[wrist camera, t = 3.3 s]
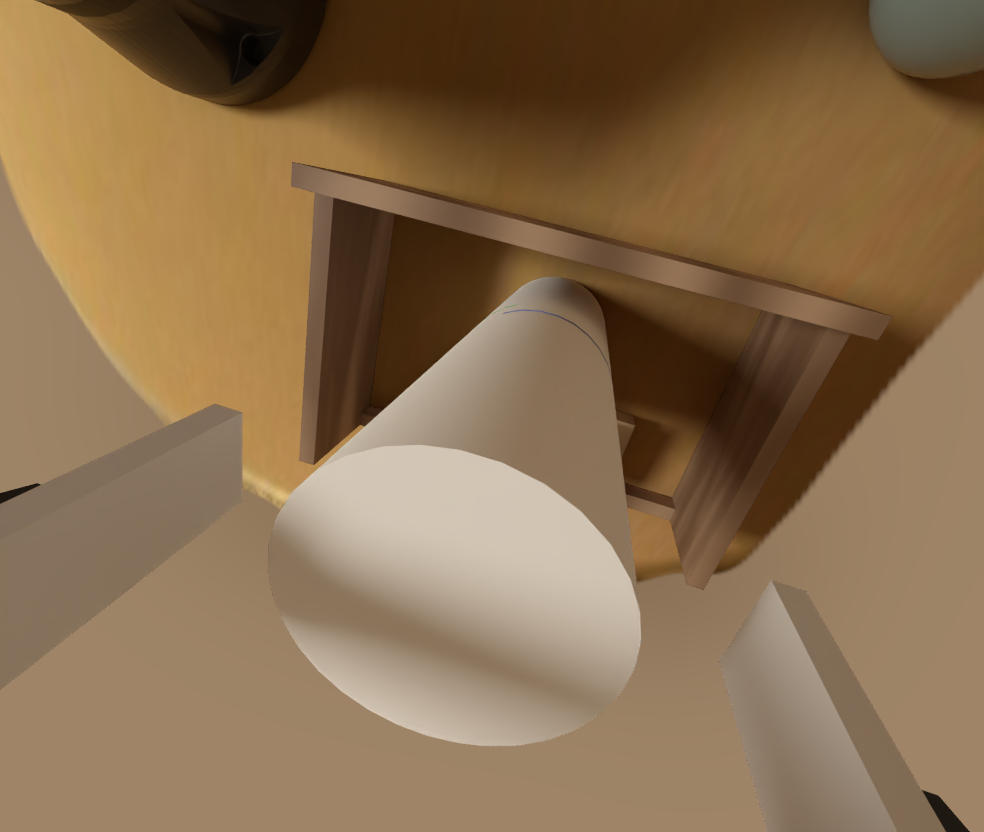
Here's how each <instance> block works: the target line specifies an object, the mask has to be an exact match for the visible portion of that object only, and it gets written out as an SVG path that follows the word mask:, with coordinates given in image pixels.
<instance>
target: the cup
mask: <svg viewBox="0 0 984 832" xmlns="http://www.w3.org/2000/svg"><path fill="white" fill-rule="evenodd" d="M868 19H869V27H870V32H871V35H872V38H873V41H874V44H875V46H876V48H877V50H878V51H879V53H880V54H881V56H882V58H883V59H884V60H885V61H886V62H887V63H888V64H889V65H890V66H891V67H892V68H894V69H896V70H898V71H899V72H901V73H903V74H905V75H909V76H913V77H917V78H922V79H938V78H953V77H959V76H964V75H968V74H972V73H976V72H979V71H983V70H984V0H869V6H868Z"/></svg>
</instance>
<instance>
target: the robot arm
mask: <svg viewBox="0 0 984 832" xmlns="http://www.w3.org/2000/svg"><path fill="white" fill-rule="evenodd" d="M36 1H38V2H41V3H43V4H46V5H48V6H51V7H53V8H56V9H58V10H61V11H63V12H66V13H68V14H69V15H70V16H72V17H73V18H74V19H76V20H77V21H78V22H79V23H81V24H82V25H83V26H85V27H86V28H87V29H89V30H90V31H91V32H92V33H94V34H95V35H96V36H98V37H99V38H100V39H101V40H103V41H104V42H105V43H107V44H108V45H109V46H111V47H112V48H113V49H114V50H116V51H117V52H118V53H120V54H121V55H122V56H124V57H125V58H126V59H127V60H129V61H130V62H131V63H133V64H134V65H135V66H137V67H138V68H139V69H140V70H142V71H143V72H144V73H146V74H147V75H149V76H150V77H152V78H153V79H155V80H157V81H158V82H160V83H162V84H164V85H166V86H168V87H170V88H172V89H174V90H176V91H179V92H181V93H184V94H187V95H190V96H193V97H197V98H200V99H203V100H206V101H209V102H213V103H218V104H225V105H240V104H247V103H252V102H255V101H258V100H261V99H263V98H266V97H267V96H269V95H271V94H273V93H274V92H276V91H277V90H279V89H280V88H281V87H283V86H284V85H285V84H286V83H287V82H288V81H289V80H290V79H291V78H292V77H293V76H294V75H295V74H296V72H297V71H298V70H299V69H300V67H301V66H302V64H303V63H304V61H305V60H306V58H307V56H308V55H309V53H310V51H311V49H312V47H313V45H314V42H315V40H316V38H317V35H318V32H319V29H320V26H321V23H322V20H323V16H324V12H325V7H326V2H327V0H36ZM241 502H242V412H239V411H236V410H233V409H230V408H227V407H223V406H220V405H217V404H213V405H211V406H209V407H207V408H205V409H203V410H201V411H198V412H196V413H194V414H192V415H190V416H188V417H186V418H183V419H181V420H179V421H177V422H175V423H173V424H171V425H168V426H166V427H164V428H162V429H160V430H158V431H156V432H154V433H151V434H149V435H147V436H145V437H143V438H141V439H139V440H136V441H134V442H132V443H130V444H128V445H126V446H124V447H121V448H119V449H117V450H115V451H113V452H111V453H109V454H106V455H104V456H102V457H100V458H98V459H96V460H94V461H91V462H89V463H87V464H85V465H83V466H81V467H79V468H76V469H74V470H72V471H70V472H68V473H66V474H64V475H62V476H59V477H57V478H55V479H53V480H51V481H49V482H46V483H44V484H42V485H40V484H37V483H36V484H33V485H29V486H25V487H21V488H18V489H14V490H10V491H7V492H3V493H0V690H1V689H2V688H3V687H5V686H6V685H7V684H8V683H10V682H11V681H12V680H14V679H15V678H16V677H17V676H19V675H20V674H21V673H23V672H24V671H25V670H26V669H28V668H29V667H30V666H31V665H33V664H34V663H35V662H37V661H38V660H39V659H40V658H42V657H43V656H44V655H46V654H47V653H48V652H49V651H51V650H52V649H53V648H54V647H56V646H57V645H58V644H60V643H61V642H62V641H64V640H65V639H66V638H67V637H69V636H70V635H71V634H73V633H74V632H75V631H76V630H78V629H79V628H80V627H81V626H83V625H84V624H85V623H86V622H88V621H89V620H90V619H92V618H93V617H94V616H96V615H97V614H98V613H99V612H101V611H102V610H103V609H105V608H106V607H107V606H108V605H110V604H111V603H112V602H114V601H115V600H116V599H117V598H119V597H120V596H121V595H122V594H124V593H125V592H126V591H128V590H129V589H130V588H131V587H133V586H134V585H135V584H137V583H138V582H139V581H140V580H142V579H143V578H144V577H145V576H147V575H148V574H149V573H151V572H152V571H153V570H155V569H156V568H157V567H158V566H160V565H161V564H162V563H164V562H165V561H166V560H167V559H169V558H170V557H171V556H173V555H174V554H175V553H176V552H178V551H179V550H180V549H182V548H183V547H184V546H185V545H187V544H188V543H189V542H191V541H192V540H193V539H194V538H195V537H197V536H198V535H199V534H201V533H202V532H203V531H205V530H206V529H207V528H208V527H210V526H211V525H212V524H214V523H215V522H216V521H217V520H218V519H220V518H221V517H223V516H224V515H225V514H226V513H228V512H229V511H230V510H231V509H233V508H234V507H235V506H237V505H238V504H239V503H241ZM719 665H720V668H721V672H722V675H723V678H724V682H725V685H726V689H727V693H728V696H729V700H730V703H731V707H732V710H733V714H734V717H735V721H736V724H737V728H738V731H739V735H740V738H741V742H742V745H743V748H744V752H745V756H746V759H747V762H748V766H749V770H750V773H751V777H752V780H753V784H754V787H755V791H756V794H757V798H758V801H759V805H760V808H761V812H762V815H763V819H764V822H765V825H766V829H767V832H969V831H968V829H967V828H966V827H965V826H964V825H963V823H962V822H961V821H960V820H959V819H958V818H957V817H956V815H955V814H954V813H953V812H952V811H951V810H950V809H949V807H948V806H947V805H946V804H945V803H944V802H943V800H942V799H941V798H940V797H939V796H938V795H935V794H932V793H929V792H926V791H923V790H921V788H920V786H919V785H918V783H917V781H916V779H915V778H914V776H913V774H912V773H911V771H910V769H909V767H908V766H907V764H906V762H905V761H904V759H903V757H902V755H901V754H900V752H899V750H898V749H897V747H896V745H895V743H894V742H893V740H892V738H891V736H890V735H889V733H888V731H887V730H886V728H885V726H884V724H883V723H882V721H881V719H880V718H879V716H878V714H877V713H876V711H875V709H874V707H873V706H872V704H871V702H870V700H869V699H868V697H867V695H866V694H865V692H864V690H863V688H862V687H861V685H860V683H859V681H858V680H857V678H856V676H855V675H854V673H853V671H852V669H851V668H850V666H849V664H848V662H847V661H846V659H845V657H844V656H843V654H842V652H841V650H840V649H839V647H838V645H837V644H836V642H835V640H834V638H833V637H832V635H831V633H830V632H829V630H828V628H827V626H826V625H825V623H824V621H823V620H822V618H821V617H820V615H819V613H818V611H817V609H816V607H815V606H814V604H813V602H812V601H811V599H810V597H809V595H808V594H807V592H806V591H804V590H801V589H798V588H795V587H792V586H788V585H785V584H782V583H779V582H776V581H772V580H771V581H770V583H769V584H768V586H767V587H766V589H765V590H764V592H763V593H762V595H761V597H760V598H759V600H758V601H757V603H756V604H755V606H754V607H753V609H752V611H751V612H750V614H749V615H748V617H747V619H746V620H745V621H744V623H743V625H742V626H741V628H740V629H739V631H738V632H737V634H736V635H735V637H734V638H733V640H732V642H731V643H730V645H729V646H728V648H727V649H726V651H725V653H724V654H723V655H722V657H721V659H720V660H719Z"/></svg>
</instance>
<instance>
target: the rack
mask: <svg viewBox="0 0 984 832" xmlns="http://www.w3.org/2000/svg"><path fill="white" fill-rule="evenodd" d="M291 186H292V187H296V188H300V189H303V190H307V191H311V192H315V199H314V216H313V233H312V251H311V268H310V285H309V302H308V319H307V337H306V354H305V371H304V388H303V405H302V423H301V440H300V457H299V461H302V462H306V463H309V464H312V465H314V464H316V463H317V462H318V461H319V460H320V459H321V458H322V457H324V456H325V455H326V454H327V453H328V452H329V451H330V450H332V449H333V448H334V447H335V446H336V445H337V444H339V443H340V442H341V441H342V440H343V439H344V438H345V437H347V436H348V435H349V434H350V433H351V432H352V431H354V430H355V429H356V428H357V427H358V426H359V425H363V426H366V425H367V424H368V423H369V422H371V421H372V420H373V419H374V418H375V417H376V416H377V415H378V414H379V413H381V412H382V411H383V410H381V409H378V408H375V407H372V406H370V404H371V396H372V388H373V380H374V372H375V364H376V356H377V349H378V341H379V333H380V325H381V317H382V309H383V301H384V293H385V286H386V278H387V270H388V262H389V254H390V246H391V238H392V231H393V223H394V215H395V214H399V215H402V216H406V217H410V218H414V219H418V220H421V221H425V222H429V223H433V224H437V225H440V226H444V227H448V228H452V229H456V230H459V231H463V232H467V233H471V234H475V235H478V236H482V237H486V238H490V239H494V240H497V241H501V242H505V243H509V244H513V245H517V246H520V247H524V248H528V249H532V250H536V251H539V252H543V253H547V254H551V255H555V256H558V257H562V258H566V259H570V260H574V261H577V262H581V263H585V264H589V265H593V266H596V267H600V268H604V269H608V270H612V271H615V272H619V273H623V274H627V275H631V276H635V277H638V278H642V279H646V280H650V281H654V282H657V283H661V284H665V285H669V286H673V287H676V288H680V289H684V290H688V291H692V292H695V293H699V294H703V295H707V296H711V297H714V298H718V299H722V300H726V301H730V302H733V303H737V304H741V305H745V306H749V307H753V308H756V309H760V310H762V312H761V314H760V316H759V318H758V320H757V323H756V325H755V327H754V329H753V331H752V333H751V335H750V337H749V339H748V341H747V343H746V345H745V348H744V350H743V352H742V354H741V356H740V358H739V360H738V362H737V364H736V366H735V368H734V370H733V373H732V375H731V377H730V379H729V381H728V383H727V385H726V387H725V389H724V391H723V393H722V395H721V397H720V400H719V402H718V404H717V406H716V408H715V410H714V412H713V414H712V416H711V418H710V420H709V422H708V425H707V427H706V429H705V431H704V433H703V435H702V437H701V439H700V441H699V443H698V445H697V447H696V450H695V452H694V454H693V456H692V458H691V460H690V462H689V464H688V466H687V468H686V470H685V472H684V475H683V477H682V479H681V481H680V483H679V485H678V487H677V489H676V491H675V493H674V495H673V497H672V498H671V497H667V496H664V495H661V494H657V493H654V492H651V491H648V490H644V489H641V488H638V487H634V486H631V485H628V484H625V483H624V485H625V493H626V501H627V507H628V508H631V509H635V510H638V511H641V512H644V513H648V514H651V515H654V516H657V517H660V518H664V519H667V520H670V522H671V526H672V530H673V534H674V538H675V542H676V545H677V549H678V553H679V557H680V561H681V565H682V569H683V573H684V576H685V580H686V584H687V585H690V586H693V587H696V588H699V589H702V590H704V588H705V586H706V585H707V583H708V581H709V579H710V578H711V576H712V574H713V572H714V571H715V569H716V567H717V566H718V564H719V562H720V560H721V559H722V557H723V555H724V553H725V552H726V550H727V548H728V546H729V545H730V543H731V541H732V539H733V538H734V536H735V534H736V533H737V531H738V529H739V527H740V526H741V524H742V522H743V520H744V519H745V517H746V515H747V513H748V512H749V510H750V508H751V506H752V505H753V503H754V501H755V499H756V498H757V496H758V494H759V493H760V491H761V489H762V487H763V486H764V484H765V482H766V480H767V479H768V477H769V475H770V473H771V472H772V470H773V468H774V466H775V465H776V463H777V461H778V459H779V458H780V456H781V454H782V453H783V451H784V449H785V447H786V446H787V444H788V442H789V440H790V439H791V437H792V435H793V433H794V432H795V430H796V428H797V426H798V425H799V423H800V421H801V419H802V418H803V416H804V414H805V413H806V411H807V409H808V407H809V406H810V404H811V402H812V400H813V399H814V397H815V395H816V393H817V392H818V390H819V388H820V386H821V385H822V383H823V381H824V379H825V378H826V376H827V374H828V373H829V371H830V369H831V367H832V366H833V364H834V362H835V360H836V359H837V357H838V355H839V353H840V352H841V350H842V348H843V346H844V345H845V343H846V341H847V340H848V338H849V336H850V334H855V335H859V336H863V337H867V338H871V339H874V340H879V338H880V336H881V335H882V333H883V331H884V330H885V328H886V326H887V325H888V323H889V322H890V320H891V318H892V316H889V315H886V314H883V313H880V312H876V311H873V310H870V309H867V308H864V307H861V306H857V305H854V304H851V303H848V302H845V301H842V300H838V299H835V298H832V297H829V296H826V295H822V294H819V293H816V292H813V291H810V290H807V289H803V288H800V287H797V286H794V285H790V284H786V283H782V282H778V281H774V280H770V279H767V278H763V277H759V276H755V275H751V274H747V273H743V272H739V271H735V270H731V269H728V268H724V267H720V266H716V265H712V264H708V263H704V262H700V261H696V260H692V259H689V258H685V257H681V256H677V255H673V254H669V253H665V252H661V251H657V250H653V249H650V248H646V247H642V246H638V245H634V244H630V243H626V242H622V241H618V240H614V239H611V238H607V237H603V236H599V235H595V234H591V233H587V232H583V231H579V230H575V229H572V228H568V227H564V226H560V225H556V224H552V223H548V222H544V221H540V220H536V219H533V218H529V217H525V216H521V215H517V214H513V213H509V212H505V211H501V210H497V209H494V208H490V207H486V206H482V205H478V204H474V203H470V202H466V201H462V200H458V199H455V198H451V197H447V196H443V195H439V194H435V193H431V192H427V191H423V190H419V189H416V188H412V187H408V186H404V185H400V184H396V183H392V182H388V181H384V180H380V179H375V178H370V177H365V176H360V175H355V174H350V173H345V172H340V171H335V170H330V169H325V168H320V167H315V166H310V165H305V164H300V163H295V162H292V178H291Z"/></svg>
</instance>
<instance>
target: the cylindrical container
mask: <svg viewBox="0 0 984 832" xmlns="http://www.w3.org/2000/svg"><path fill="white" fill-rule="evenodd" d="M268 574H269V579H270V585H271V590H272V595H273V598H274V601H275V603H276V606H277V608H278V611H279V614H280V616H281V619H282V621H283V623H284V624H285V626H286V628H287V629H288V631H289V633H290V634H291V636H292V638H293V639H294V641H295V643H296V644H297V646H298V647H299V648H300V650H301V651H302V652H303V653H304V654H305V656H306V657H307V658H308V659H309V660H310V661H311V663H312V664H313V665H314V666H315V667H316V668H317V670H318V671H319V672H320V673H322V674H323V675H324V676H325V677H326V678H327V679H328V680H329V681H331V682H332V683H333V684H334V685H335V686H336V687H337V688H338V689H339V690H341V691H342V692H343V693H345V694H346V695H348V696H349V697H350V698H352V699H353V700H355V701H357V702H358V703H359V704H361V705H362V706H364V707H365V708H367V709H368V710H370V711H372V712H374V713H376V714H378V715H380V716H382V717H384V718H385V719H388V720H389V721H391V722H393V723H395V724H397V725H400V726H402V727H405V728H408V729H411V730H413V731H416V732H419V733H421V734H424V735H427V736H431V737H435V738H439V739H443V740H447V741H452V742H456V743H463V744H473V745H481V746H518V745H523V744H529V743H535V742H541V741H547V740H550V739H553V738H555V737H558V736H561V735H563V734H566V733H569V732H572V731H574V730H577V729H578V728H580V727H581V726H583V725H585V724H586V723H588V722H589V721H591V720H592V719H594V718H596V717H597V716H599V715H600V714H602V713H603V712H604V711H605V710H606V709H607V708H608V707H609V705H610V704H611V703H612V702H613V701H614V700H615V699H616V698H617V697H618V696H619V695H620V694H621V692H622V691H623V689H624V687H625V686H626V684H627V682H628V680H629V678H630V676H631V674H632V672H633V670H634V669H635V665H636V661H637V656H638V652H639V648H640V643H641V631H640V629H641V628H640V609H639V600H638V592H637V583H636V575H635V567H634V559H633V551H632V542H631V534H630V526H629V518H628V509H627V501H626V493H625V485H624V476H623V468H622V460H621V452H620V443H619V435H618V427H617V418H616V410H615V401H614V393H613V384H612V376H611V368H610V360H609V352H608V343H607V335H606V326H605V320H604V316H603V312H602V309H601V307H600V305H599V303H598V301H597V300H596V299H595V297H594V296H593V295H592V294H591V292H590V291H588V290H587V289H586V288H585V287H583V286H582V285H581V284H579V283H577V282H575V281H573V280H570V279H566V278H562V277H544V278H539V279H536V280H533V281H530V282H529V283H527V284H525V285H523V286H522V287H520V288H519V289H518V290H517V291H516V292H515V293H514V294H512V295H511V296H510V297H509V298H508V299H507V300H506V301H505V302H503V303H502V304H501V305H500V306H499V307H498V308H497V309H495V310H494V311H493V312H492V313H491V314H490V315H489V316H488V317H486V318H485V319H484V320H483V321H482V322H481V323H480V324H478V325H477V326H476V327H475V328H474V329H473V330H472V331H471V332H470V333H468V334H467V335H466V336H465V337H464V338H463V339H462V340H461V341H460V342H458V343H457V344H456V345H455V346H454V347H453V348H452V349H451V350H450V351H448V352H447V353H446V354H445V355H444V356H443V357H442V358H441V359H440V360H438V361H437V362H436V363H435V364H434V365H433V366H432V367H431V368H430V369H428V370H427V371H426V372H425V373H424V374H423V375H422V376H421V377H420V378H418V379H417V380H416V381H415V382H414V383H413V384H412V385H411V386H410V387H408V388H407V389H406V390H405V391H404V392H403V393H402V394H401V395H399V396H398V397H397V398H396V399H395V400H394V401H393V402H392V403H391V404H389V405H388V406H387V407H386V408H385V409H384V410H383V411H382V412H381V413H379V414H378V415H377V416H376V417H375V418H374V419H373V420H372V421H371V422H369V423H368V424H367V425H366V426H365V427H364V428H363V429H362V430H361V431H359V432H358V433H357V434H356V435H355V436H354V437H353V438H352V439H351V440H349V441H348V442H347V443H346V444H345V445H344V446H343V447H342V448H341V449H339V450H338V451H337V452H336V453H335V454H334V455H333V456H332V457H331V458H329V459H328V460H327V461H326V462H325V463H324V464H323V465H322V466H321V467H319V468H318V469H317V470H316V471H315V472H314V473H313V474H312V475H311V476H309V477H308V478H307V479H306V480H305V481H304V482H303V483H302V484H301V485H299V486H298V487H297V488H296V489H295V490H294V491H293V492H292V493H291V495H290V496H289V498H288V499H287V501H286V503H285V504H284V506H283V507H282V509H281V511H280V512H279V514H278V515H277V517H276V520H275V523H274V527H273V531H272V534H271V537H270V541H269V545H268Z"/></svg>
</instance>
